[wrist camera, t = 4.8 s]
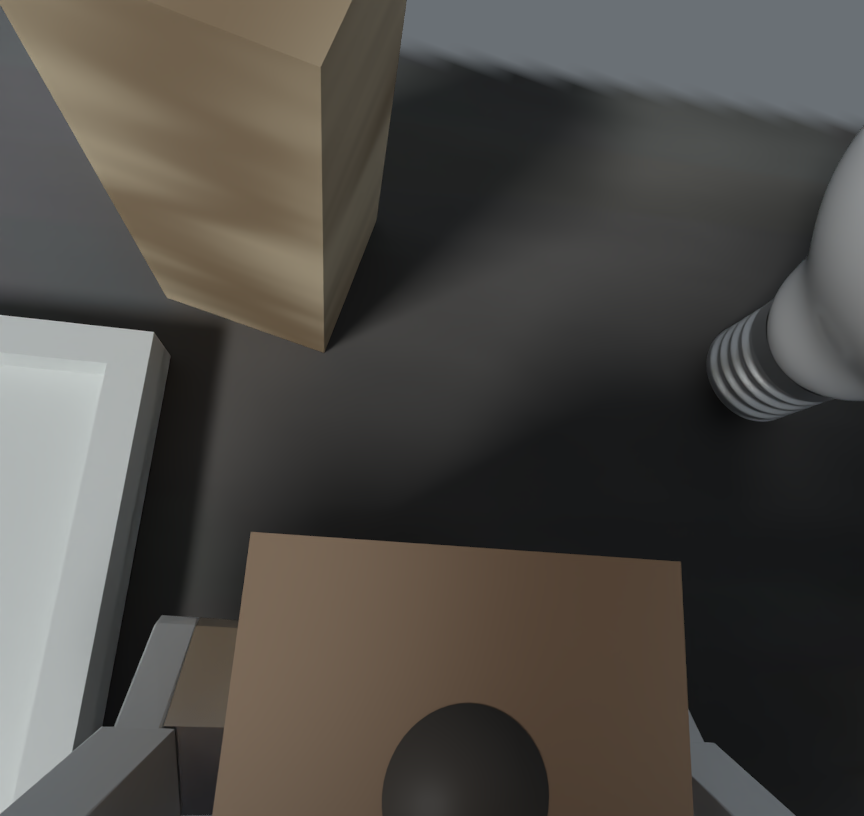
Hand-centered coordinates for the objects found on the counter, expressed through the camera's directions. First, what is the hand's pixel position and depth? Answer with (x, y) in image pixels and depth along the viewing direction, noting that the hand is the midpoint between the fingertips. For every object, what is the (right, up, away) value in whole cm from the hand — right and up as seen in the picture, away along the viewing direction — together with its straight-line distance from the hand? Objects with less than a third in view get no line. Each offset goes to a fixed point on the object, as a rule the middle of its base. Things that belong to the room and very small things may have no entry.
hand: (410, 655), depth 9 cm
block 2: (-1, -2, +5) cm, 5 cm away
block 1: (-4, +7, +7) cm, 11 cm away
